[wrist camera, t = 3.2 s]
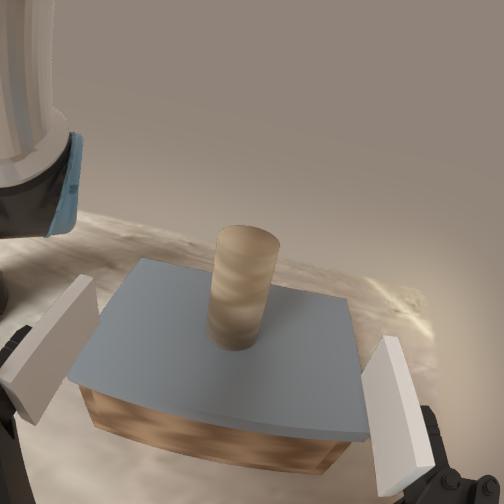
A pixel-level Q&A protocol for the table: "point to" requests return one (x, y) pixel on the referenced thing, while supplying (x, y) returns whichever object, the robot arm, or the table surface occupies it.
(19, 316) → the table surface
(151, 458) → the table surface
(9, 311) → the table surface
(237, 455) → the brown wooden open box
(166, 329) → the lid
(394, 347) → the robot arm
